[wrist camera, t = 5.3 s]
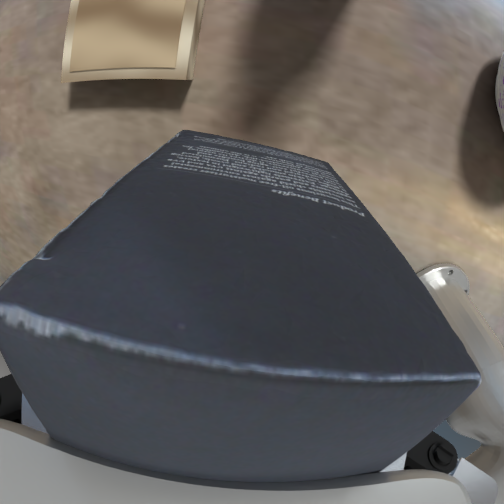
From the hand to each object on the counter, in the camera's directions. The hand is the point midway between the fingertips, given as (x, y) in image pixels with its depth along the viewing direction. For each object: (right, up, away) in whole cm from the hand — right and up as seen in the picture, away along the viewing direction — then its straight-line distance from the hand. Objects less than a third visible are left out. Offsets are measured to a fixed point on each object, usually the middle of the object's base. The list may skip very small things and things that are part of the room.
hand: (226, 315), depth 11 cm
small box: (0, +2, +3) cm, 4 cm away
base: (-9, +23, +10) cm, 27 cm away
